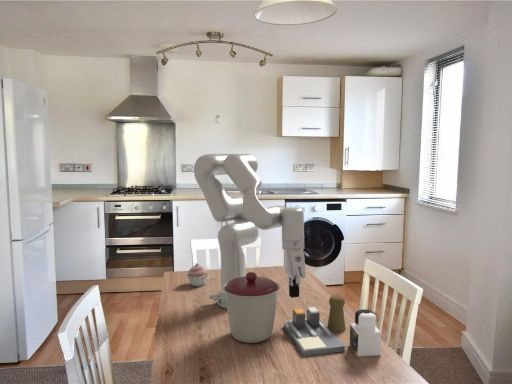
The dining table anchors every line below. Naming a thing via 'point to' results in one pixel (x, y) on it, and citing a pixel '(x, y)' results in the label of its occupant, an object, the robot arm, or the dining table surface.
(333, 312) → the cork
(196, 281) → the cupcake
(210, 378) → the dining table surface
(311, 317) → the toggle plain
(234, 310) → the canister
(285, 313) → the dining table surface
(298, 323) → the block
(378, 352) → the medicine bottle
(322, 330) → the panel
